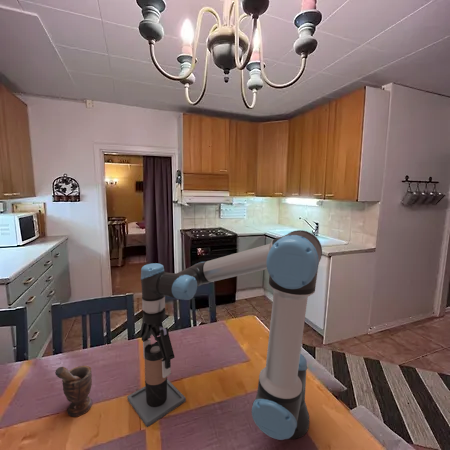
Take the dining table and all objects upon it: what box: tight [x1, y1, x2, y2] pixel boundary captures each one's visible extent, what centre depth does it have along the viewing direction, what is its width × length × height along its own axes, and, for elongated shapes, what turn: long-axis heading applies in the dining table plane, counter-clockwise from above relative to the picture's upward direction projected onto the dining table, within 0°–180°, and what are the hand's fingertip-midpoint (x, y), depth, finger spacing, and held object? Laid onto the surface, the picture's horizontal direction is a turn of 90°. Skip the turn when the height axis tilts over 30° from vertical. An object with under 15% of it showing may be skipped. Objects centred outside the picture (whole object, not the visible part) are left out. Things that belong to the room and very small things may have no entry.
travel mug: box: [143, 341, 168, 407], centre depth 90 cm, size 8×8×20 cm
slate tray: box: [127, 378, 187, 428], centre depth 91 cm, size 15×15×2 cm
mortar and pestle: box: [54, 365, 93, 418], centre depth 85 cm, size 12×9×20 cm
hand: (156, 366), depth 90 cm, fingers open, 13 cm apart
